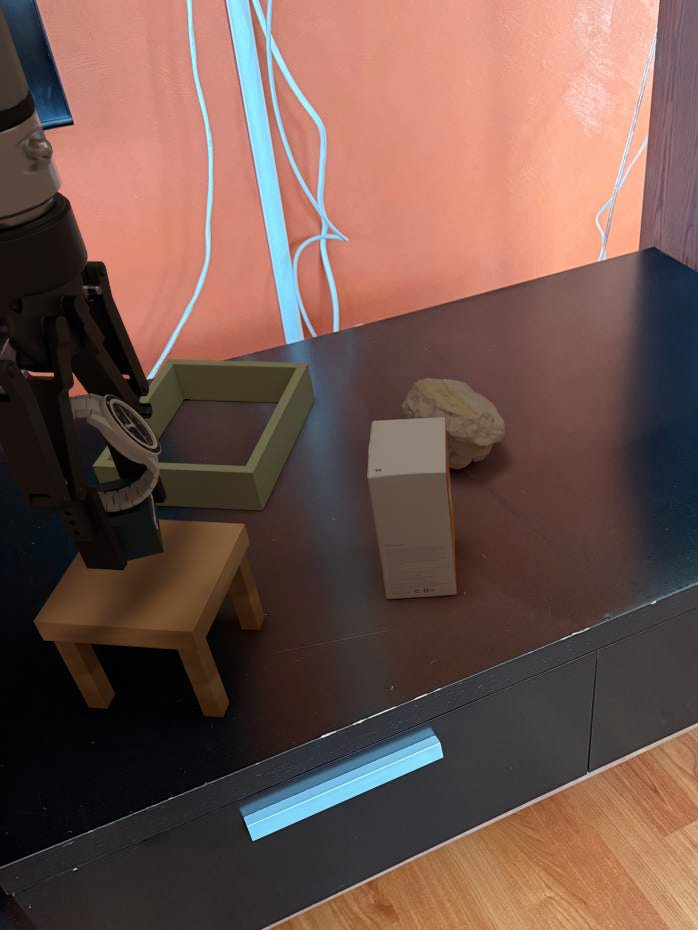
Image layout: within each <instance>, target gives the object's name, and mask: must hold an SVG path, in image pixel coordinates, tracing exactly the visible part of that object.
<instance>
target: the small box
mask: <svg viewBox="0 0 698 930" xmlns="http://www.w3.org/2000/svg"><path fill="white" fill-rule="evenodd" d="M369 434H370V435H369V444H368V448H367V449H368V451H367V452H368V454H367V474H366V478H367V480H366V481H367V485H368V493H369V499H370V505H371V511H372V517H373V518H372V519H373V523H374V524H373V525H374V530H375V536H376V541H377V548H378V554H379V560H380V567H381V573H382V575H381V576H382V580H383V581H382V582H383V589H384V595H385V598H386V599H388V600H392V599H393V600H394V599H410V598H411V599H412V598H426V597H442V596H456V595H457V594H458V587H457V571H456V532H455V522H454V521H455V519H454V507H453V499H452V498H453V497H452V484H451V483H452V482H451V471H450V470H451V469H450V468H449V456H448V445H447V428H446V418H445V417H439V418H420V419H402V418H400V419H384V420H382V419H380V420H373V421H372V422H371V427H370V433H369Z"/></svg>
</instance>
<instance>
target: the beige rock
mask: <svg viewBox="0 0 698 930" xmlns="http://www.w3.org/2000/svg"><path fill="white" fill-rule="evenodd" d="M400 407H401V408H400V419H420V418H439V417H445V418H446V428H447V445H448V456H449V469H452V470H462V469H464V468H466V467H468V465H469V464H470V463H472V461H473V462H479V461H483V460H484V458H486V457H487V456H488V455H489V454H490V452H491V451H492V447H493V445H494V444H498V443H501V442H503V440H504V438H505V436H506V424H505V420H504V418H503V417H502V416H501V414H499V411H498V409H497V406H495V404H494V403H493V402H491V401H490V399H488V398H486V397H485V396H483V394H481V393H479V392H475V391H474V389H472V388H471V386H470V385H468V384H467V383H465V382H463V381H459V380H457V379H449V378H441V379H439V378H438V379H437V378H432V377H425V378H424V379H419V380H417V381H416V382H415V383H413V385H412V387H411V388H410V389H409V391H408V392H407V393H406V396H405V400H404V401H403V402H402V404H401V406H400Z"/></svg>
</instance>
